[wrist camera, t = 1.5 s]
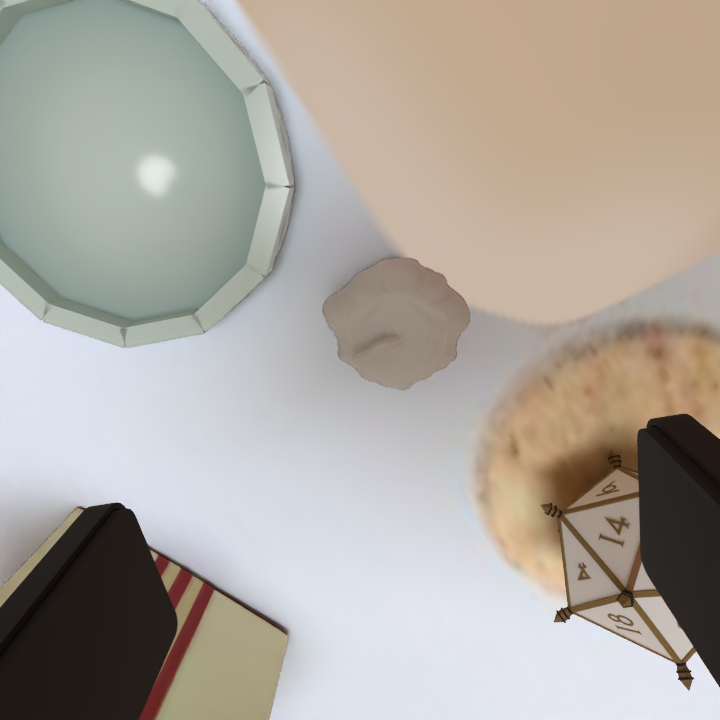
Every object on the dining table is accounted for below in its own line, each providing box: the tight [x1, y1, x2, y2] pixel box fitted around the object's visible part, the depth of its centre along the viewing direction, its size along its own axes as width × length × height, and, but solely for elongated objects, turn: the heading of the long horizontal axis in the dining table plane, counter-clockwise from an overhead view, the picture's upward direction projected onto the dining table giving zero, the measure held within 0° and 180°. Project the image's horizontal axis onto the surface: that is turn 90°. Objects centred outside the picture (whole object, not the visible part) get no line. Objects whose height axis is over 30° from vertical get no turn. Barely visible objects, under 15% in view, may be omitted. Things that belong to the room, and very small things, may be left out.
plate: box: [0, 0, 295, 348], centre depth 21 cm, size 14×14×2 cm
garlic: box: [323, 257, 470, 390], centre depth 21 cm, size 6×5×5 cm
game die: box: [541, 450, 696, 690], centre depth 23 cm, size 9×8×10 cm
